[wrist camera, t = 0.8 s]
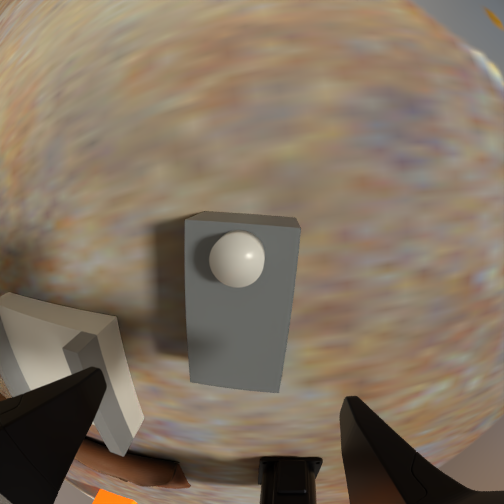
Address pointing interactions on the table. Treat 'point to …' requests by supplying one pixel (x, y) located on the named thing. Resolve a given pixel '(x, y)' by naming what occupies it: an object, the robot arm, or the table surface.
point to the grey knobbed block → (239, 297)
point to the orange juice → (111, 498)
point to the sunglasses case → (132, 467)
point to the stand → (69, 359)
